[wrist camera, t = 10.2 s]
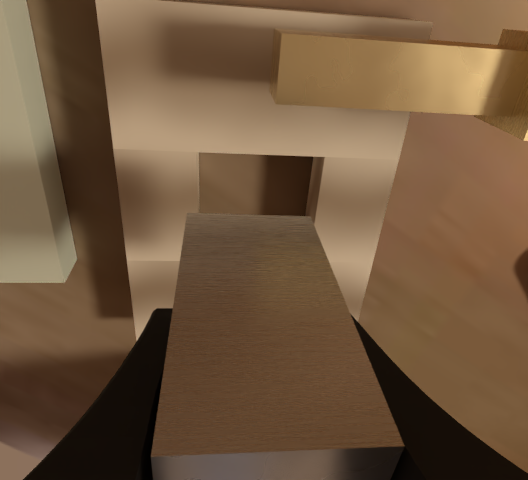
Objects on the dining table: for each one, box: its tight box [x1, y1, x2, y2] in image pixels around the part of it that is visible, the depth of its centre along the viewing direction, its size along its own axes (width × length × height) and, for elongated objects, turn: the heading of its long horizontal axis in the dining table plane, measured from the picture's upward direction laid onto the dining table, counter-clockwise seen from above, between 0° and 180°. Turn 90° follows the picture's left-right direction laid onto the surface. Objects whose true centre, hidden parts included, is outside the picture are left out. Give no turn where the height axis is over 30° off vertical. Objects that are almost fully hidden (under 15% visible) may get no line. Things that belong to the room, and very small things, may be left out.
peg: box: [151, 213, 405, 480], centre depth 11 cm, size 4×4×8 cm
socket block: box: [95, 0, 433, 340], centre depth 19 cm, size 16×12×2 cm
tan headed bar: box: [269, 28, 528, 141], centre depth 13 cm, size 3×10×3 cm, turn 86°
